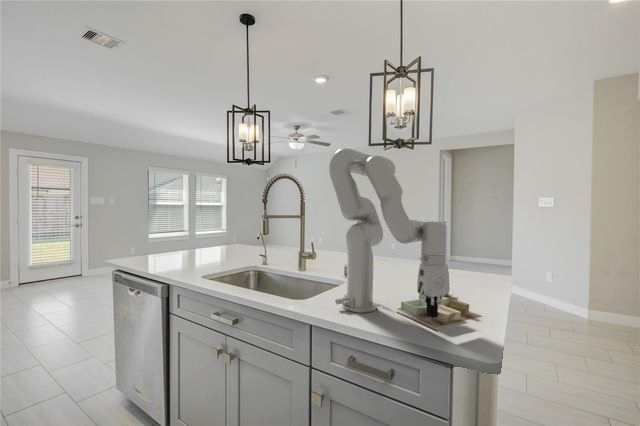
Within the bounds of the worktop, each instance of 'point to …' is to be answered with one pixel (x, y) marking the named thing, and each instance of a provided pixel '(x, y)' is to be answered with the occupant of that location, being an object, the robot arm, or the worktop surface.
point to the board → (453, 305)
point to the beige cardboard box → (447, 314)
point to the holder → (447, 300)
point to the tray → (414, 306)
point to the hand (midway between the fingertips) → (431, 315)
